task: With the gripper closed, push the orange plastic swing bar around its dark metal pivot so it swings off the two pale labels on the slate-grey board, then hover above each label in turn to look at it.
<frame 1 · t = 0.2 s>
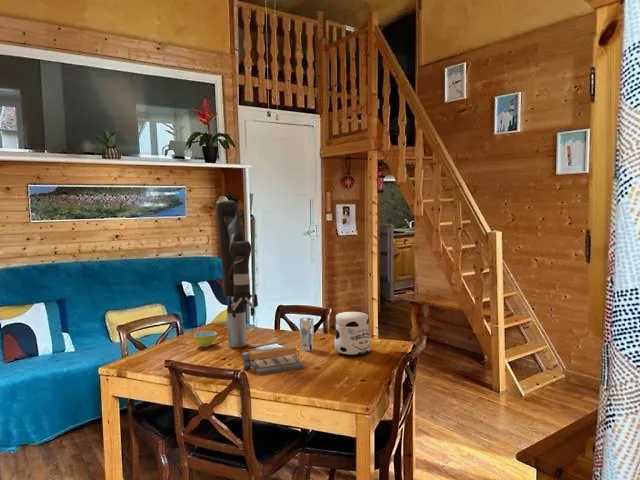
hand: (243, 316, 231), 18 cm above the table, tool pointing down, fingers open, 8 cm apart
label board: (276, 366, 211), on the table
bowl: (205, 346, 246), on the table
milk container: (352, 353, 229), on the table
swing bar: (269, 353, 212), point 6 cm above the table, hinge at 0.0°
beer glass: (307, 349, 235), on the table
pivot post: (247, 369, 209), on the table
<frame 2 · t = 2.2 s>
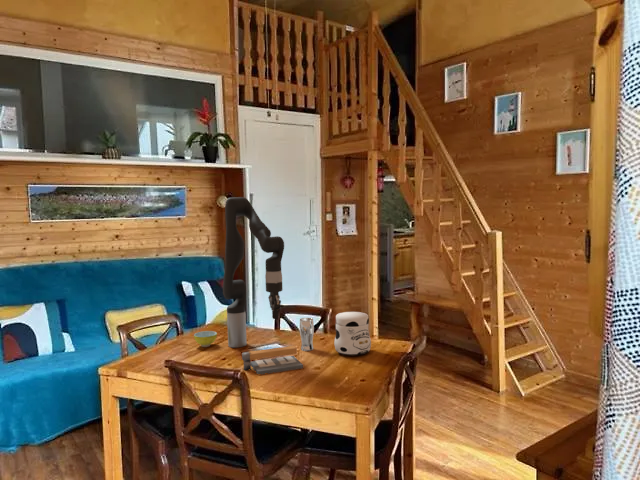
hand: (275, 318, 219), 19 cm above the table, tool pointing down, fingers closed
nothing on the table moved.
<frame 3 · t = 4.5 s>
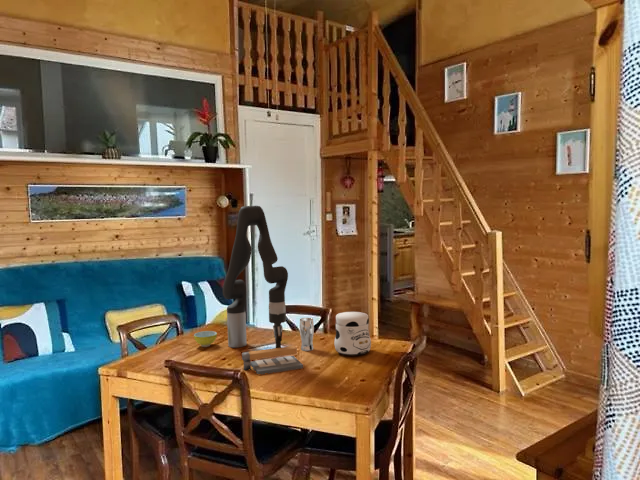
hand: (278, 349, 217), 6 cm above the table, tool pointing down, fingers closed
swing bar: (269, 353, 212), point 6 cm above the table, hinge at -0.5°, touching gripper
everything else where it was.
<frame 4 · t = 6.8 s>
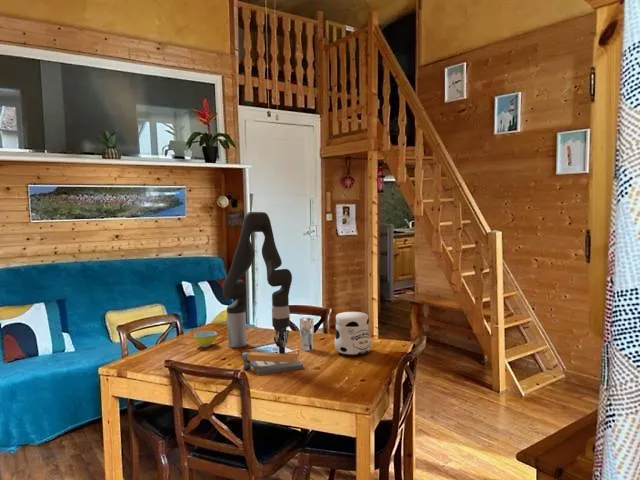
hand: (282, 354, 209), 6 cm above the table, tool pointing down, fingers closed
swing bar: (268, 357, 206), point 6 cm above the table, hinge at -33.0°, touching gripper
everything else where it was.
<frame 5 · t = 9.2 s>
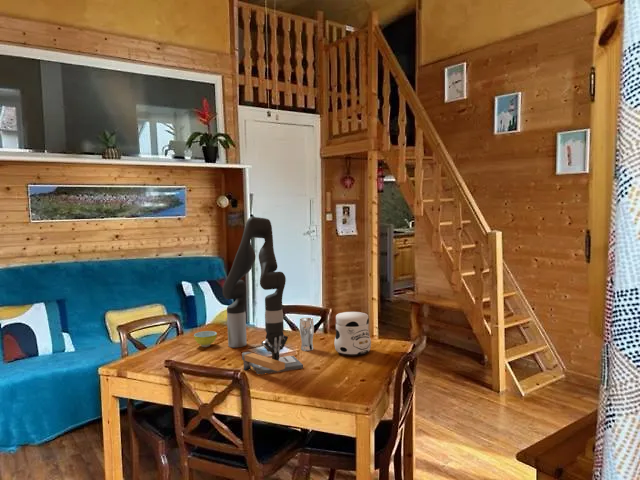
hand: (275, 360, 201), 6 cm above the table, tool pointing down, fingers closed
swing bar: (261, 360, 202), point 6 cm above the table, hinge at -63.6°, touching gripper
everything else where it was.
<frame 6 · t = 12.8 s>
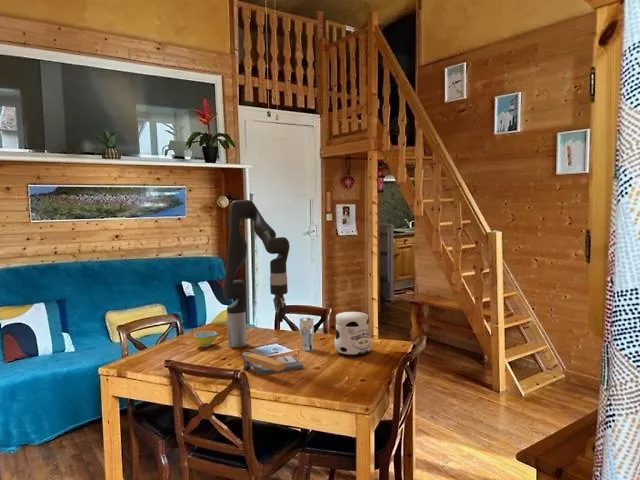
hand: (280, 321, 213), 19 cm above the table, tool pointing down, fingers closed
swing bar: (261, 360, 202), point 6 cm above the table, hinge at -63.7°
everything else where it was.
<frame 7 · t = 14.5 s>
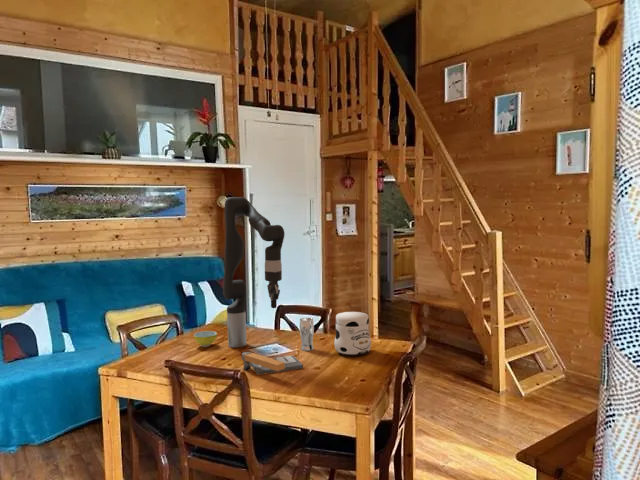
hand: (273, 307, 217), 24 cm above the table, tool pointing down, fingers closed
nothing on the table moved.
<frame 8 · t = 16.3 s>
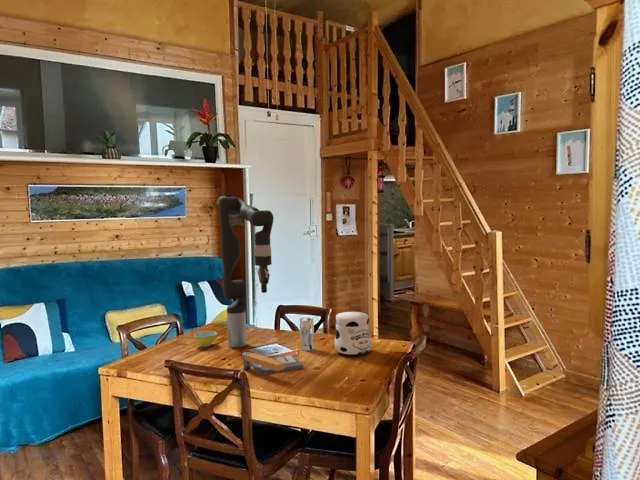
hand: (264, 292, 220), 31 cm above the table, tool pointing down, fingers closed
nothing on the table moved.
at the end: swing bar at -64° (first picture: +0°); beer glass moved 0.2 cm from its start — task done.
